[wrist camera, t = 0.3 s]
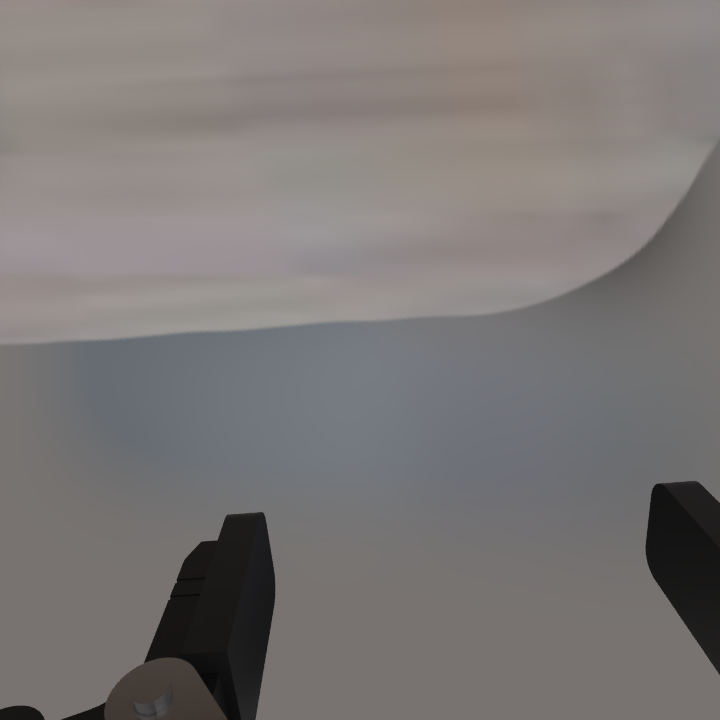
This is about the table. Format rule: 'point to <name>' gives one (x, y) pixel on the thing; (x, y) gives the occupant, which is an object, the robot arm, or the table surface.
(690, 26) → the table surface
